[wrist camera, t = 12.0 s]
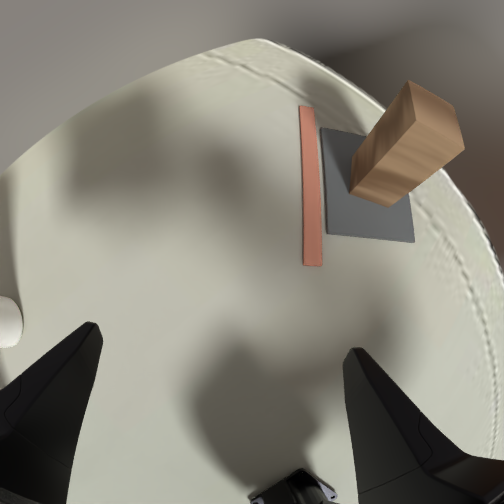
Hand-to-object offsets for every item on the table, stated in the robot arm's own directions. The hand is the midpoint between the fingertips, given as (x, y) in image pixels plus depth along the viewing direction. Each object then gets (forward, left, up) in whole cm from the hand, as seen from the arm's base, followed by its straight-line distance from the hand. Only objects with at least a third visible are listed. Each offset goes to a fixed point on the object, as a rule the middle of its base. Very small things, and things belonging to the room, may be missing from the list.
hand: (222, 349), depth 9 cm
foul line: (+6, -15, -14) cm, 21 cm away
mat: (+1, -20, -14) cm, 24 cm away
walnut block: (+1, -20, -13) cm, 24 cm away
